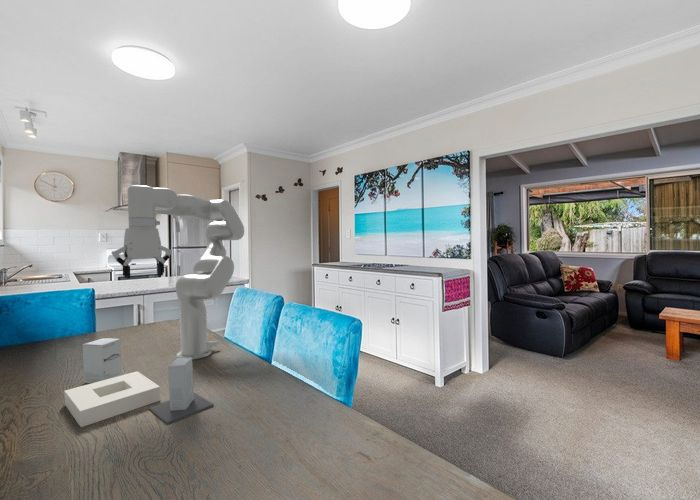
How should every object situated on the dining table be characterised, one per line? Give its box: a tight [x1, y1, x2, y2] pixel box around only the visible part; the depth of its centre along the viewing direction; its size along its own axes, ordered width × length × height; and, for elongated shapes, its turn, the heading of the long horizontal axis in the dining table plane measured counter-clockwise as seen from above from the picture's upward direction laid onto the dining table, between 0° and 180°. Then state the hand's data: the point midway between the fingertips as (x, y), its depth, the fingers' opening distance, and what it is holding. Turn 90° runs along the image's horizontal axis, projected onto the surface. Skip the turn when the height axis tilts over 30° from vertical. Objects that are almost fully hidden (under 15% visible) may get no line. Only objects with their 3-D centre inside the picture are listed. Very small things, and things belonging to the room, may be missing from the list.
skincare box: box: [167, 357, 195, 411], centre depth 94 cm, size 6×4×12 cm
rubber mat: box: [148, 392, 215, 425], centre depth 94 cm, size 12×12×1 cm
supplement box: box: [82, 337, 122, 384], centre depth 114 cm, size 7×7×13 cm
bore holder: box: [64, 371, 161, 428], centre depth 97 cm, size 18×18×4 cm
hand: (144, 276), depth 114 cm, fingers open, 9 cm apart
